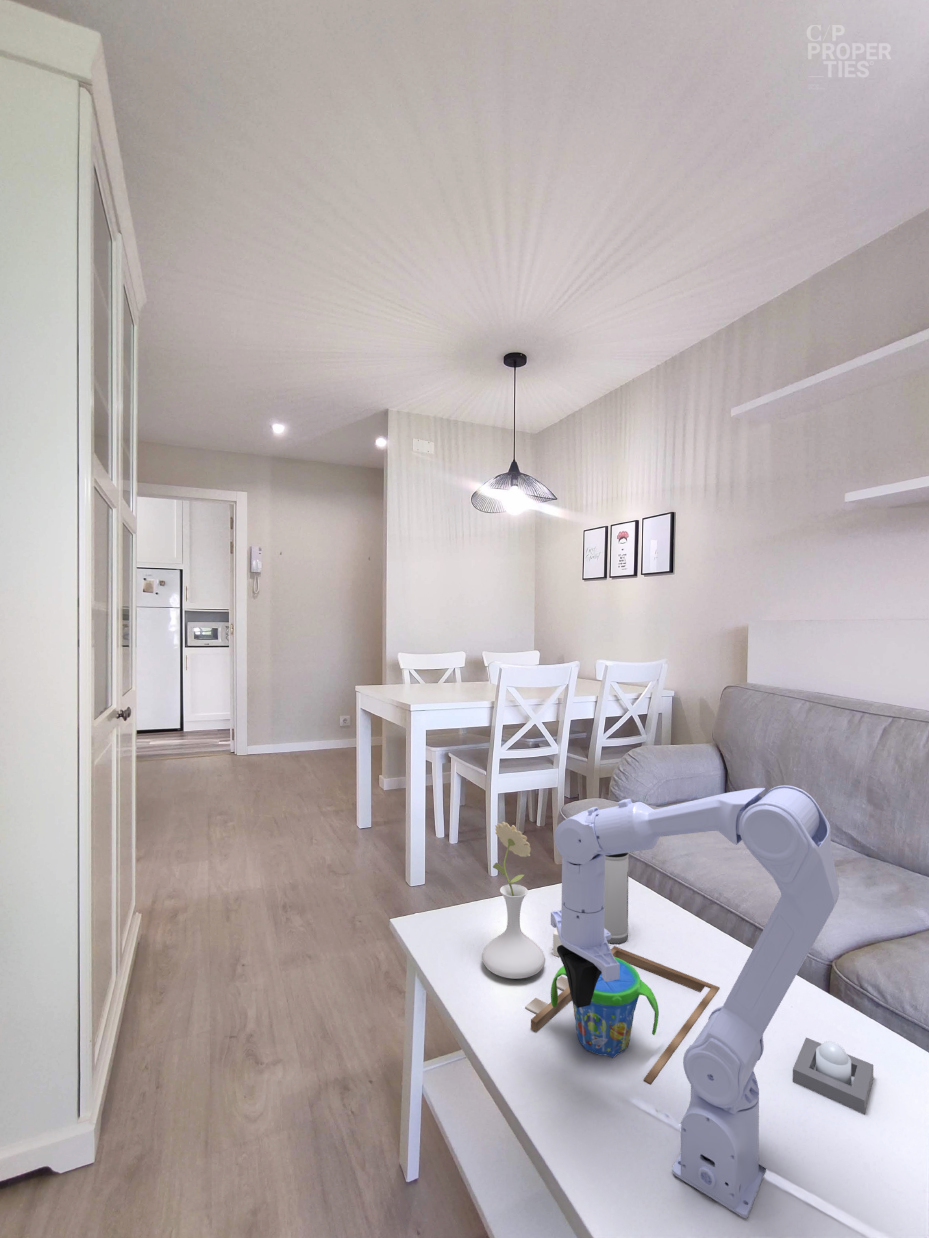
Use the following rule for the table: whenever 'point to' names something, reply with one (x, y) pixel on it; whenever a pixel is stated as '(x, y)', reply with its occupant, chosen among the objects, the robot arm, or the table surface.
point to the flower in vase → (513, 920)
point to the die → (556, 943)
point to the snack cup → (610, 1011)
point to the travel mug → (616, 897)
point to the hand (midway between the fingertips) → (581, 1003)
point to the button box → (831, 1087)
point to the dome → (833, 1062)
